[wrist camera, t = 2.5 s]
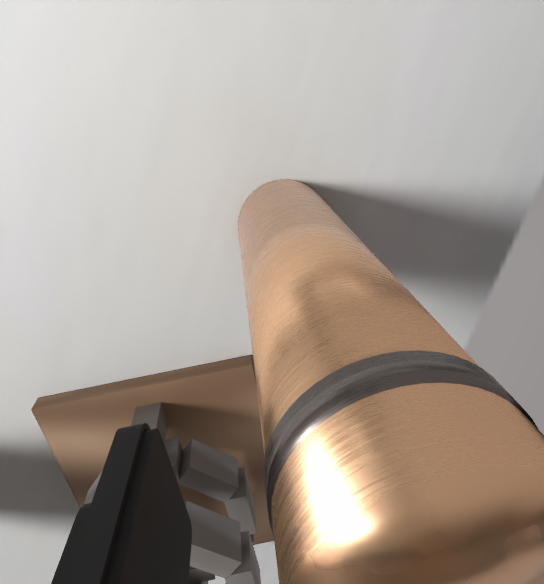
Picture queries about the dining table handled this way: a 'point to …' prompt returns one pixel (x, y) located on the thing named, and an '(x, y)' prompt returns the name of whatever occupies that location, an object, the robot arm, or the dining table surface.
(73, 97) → the dining table surface
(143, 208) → the dining table surface
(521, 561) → the copper tube
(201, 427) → the collar stand
